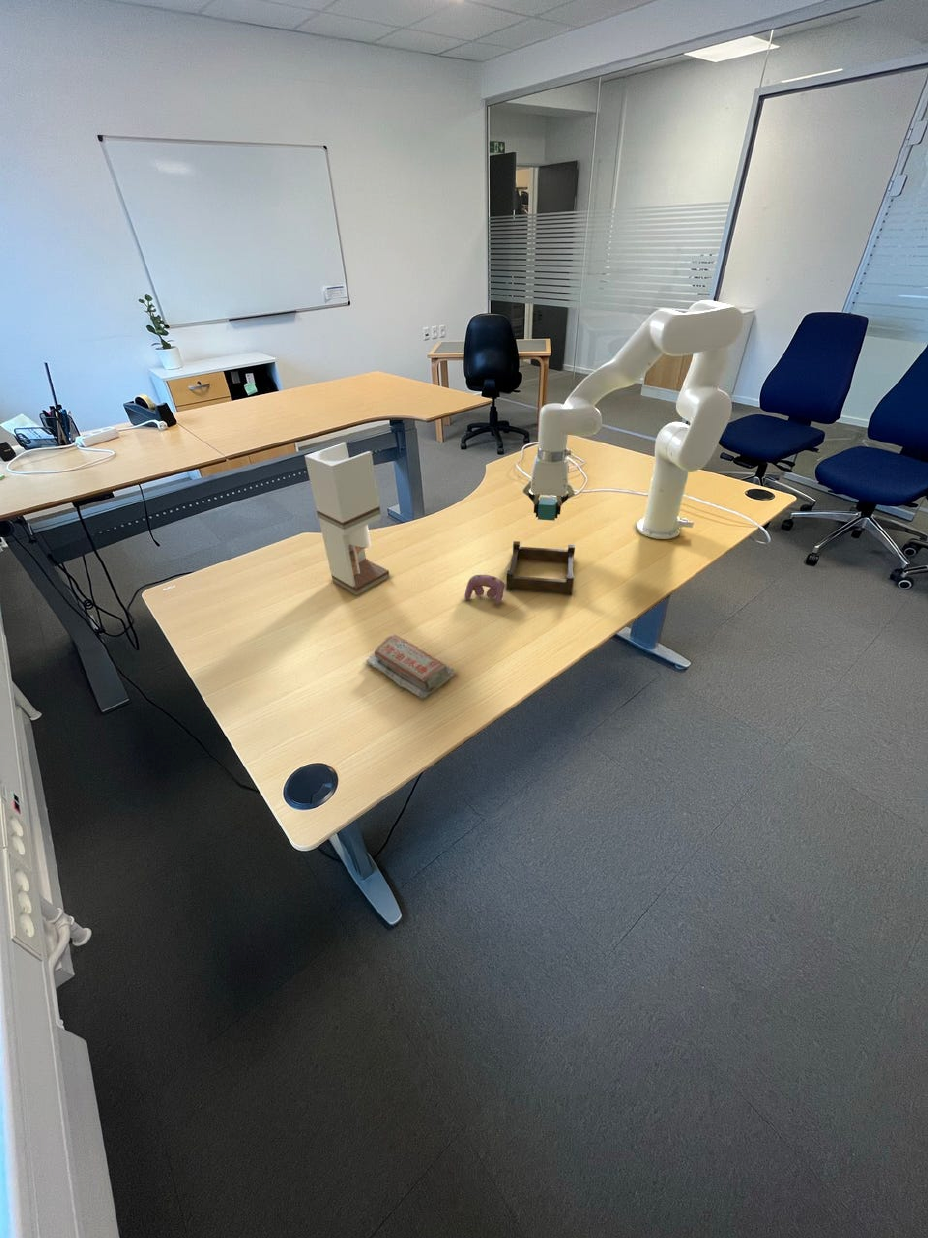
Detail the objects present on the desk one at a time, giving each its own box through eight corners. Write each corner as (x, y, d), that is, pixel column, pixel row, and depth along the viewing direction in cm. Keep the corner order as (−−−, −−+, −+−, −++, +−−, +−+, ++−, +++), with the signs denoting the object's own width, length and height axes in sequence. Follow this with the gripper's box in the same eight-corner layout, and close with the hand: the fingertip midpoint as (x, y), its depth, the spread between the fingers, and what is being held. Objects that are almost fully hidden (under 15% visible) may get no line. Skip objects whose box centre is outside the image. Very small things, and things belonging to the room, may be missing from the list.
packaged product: (455, 659, 108) (421, 685, 102) (456, 675, 111) (423, 702, 105) (396, 625, 118) (362, 647, 112) (399, 641, 121) (366, 663, 115)
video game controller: (503, 604, 134) (507, 577, 132) (499, 606, 129) (503, 579, 128) (467, 597, 136) (470, 571, 135) (462, 600, 132) (465, 573, 130)
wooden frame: (573, 560, 146) (575, 544, 143) (571, 594, 133) (573, 578, 130) (513, 556, 149) (513, 541, 146) (506, 589, 136) (506, 573, 133)
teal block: (555, 513, 151) (556, 497, 148) (554, 520, 148) (556, 505, 145) (538, 512, 152) (540, 496, 149) (537, 519, 148) (538, 504, 145)
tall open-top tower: (356, 595, 136) (331, 466, 115) (332, 580, 142) (304, 455, 121) (389, 576, 143) (371, 451, 121) (365, 563, 148) (343, 442, 127)
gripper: (584, 450, 140) (576, 511, 151) (521, 447, 143) (518, 508, 154) (583, 460, 134) (576, 523, 145) (518, 457, 137) (515, 519, 148)
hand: (546, 515), depth 150 cm, fingers closed on teal block, 4 cm apart
